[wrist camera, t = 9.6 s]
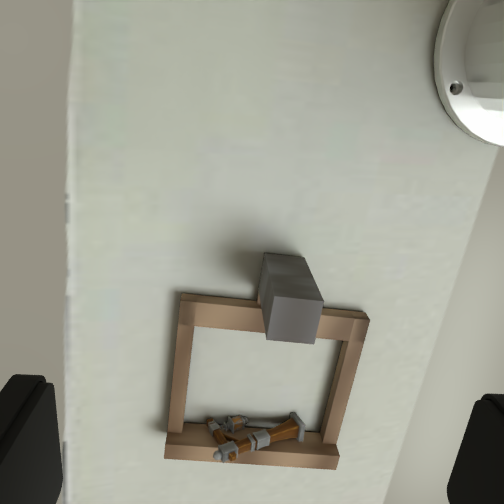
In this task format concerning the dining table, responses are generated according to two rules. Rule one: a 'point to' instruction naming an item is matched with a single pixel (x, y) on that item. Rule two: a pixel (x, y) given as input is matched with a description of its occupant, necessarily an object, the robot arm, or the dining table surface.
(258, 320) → the brown hollow square frame
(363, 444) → the dining table surface
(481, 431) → the robot arm
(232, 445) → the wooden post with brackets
